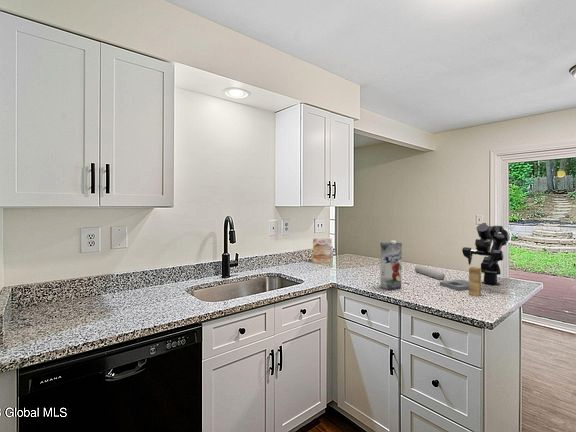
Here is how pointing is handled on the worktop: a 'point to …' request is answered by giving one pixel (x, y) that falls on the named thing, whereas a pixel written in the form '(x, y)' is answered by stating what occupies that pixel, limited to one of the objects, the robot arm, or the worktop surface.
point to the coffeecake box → (322, 250)
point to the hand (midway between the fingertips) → (478, 265)
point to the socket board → (456, 284)
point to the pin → (475, 281)
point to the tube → (429, 272)
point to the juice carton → (390, 265)
